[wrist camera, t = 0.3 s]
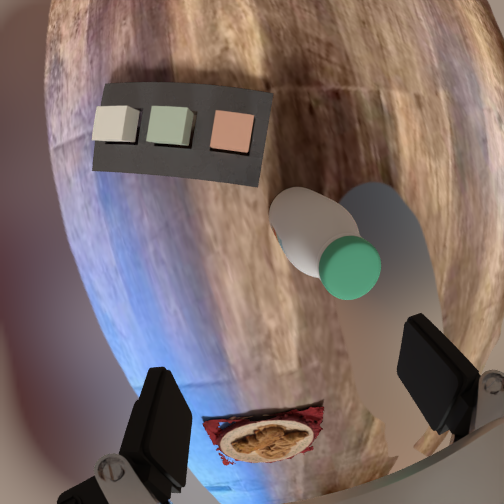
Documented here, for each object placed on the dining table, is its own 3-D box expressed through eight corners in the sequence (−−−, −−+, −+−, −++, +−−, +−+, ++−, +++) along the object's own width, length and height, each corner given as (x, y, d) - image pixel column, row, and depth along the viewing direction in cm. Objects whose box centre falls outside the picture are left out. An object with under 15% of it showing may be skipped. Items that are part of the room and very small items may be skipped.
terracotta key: (218, 116, 30) (215, 110, 26) (251, 120, 30) (254, 115, 26) (213, 148, 31) (209, 146, 27) (246, 152, 32) (248, 151, 27)
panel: (112, 87, 30) (105, 83, 27) (270, 97, 32) (273, 93, 29) (100, 169, 33) (92, 170, 31) (256, 185, 36) (257, 187, 33)
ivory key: (112, 111, 28) (96, 106, 24) (139, 111, 29) (127, 105, 25) (107, 141, 30) (91, 140, 26) (134, 141, 30) (121, 140, 26)
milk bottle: (259, 198, 36) (286, 243, 17) (313, 178, 36) (390, 202, 17) (279, 249, 39) (317, 334, 20) (330, 230, 38) (405, 295, 19)
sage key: (162, 111, 29) (151, 105, 25) (193, 113, 30) (187, 107, 25) (157, 143, 30) (146, 141, 26) (188, 145, 31) (181, 143, 27)
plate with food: (202, 415, 51) (200, 427, 48) (323, 402, 50) (326, 414, 47) (224, 460, 59) (223, 470, 56) (318, 450, 59) (320, 460, 55)
